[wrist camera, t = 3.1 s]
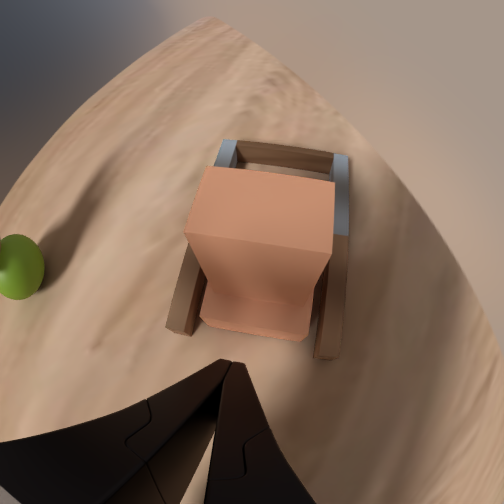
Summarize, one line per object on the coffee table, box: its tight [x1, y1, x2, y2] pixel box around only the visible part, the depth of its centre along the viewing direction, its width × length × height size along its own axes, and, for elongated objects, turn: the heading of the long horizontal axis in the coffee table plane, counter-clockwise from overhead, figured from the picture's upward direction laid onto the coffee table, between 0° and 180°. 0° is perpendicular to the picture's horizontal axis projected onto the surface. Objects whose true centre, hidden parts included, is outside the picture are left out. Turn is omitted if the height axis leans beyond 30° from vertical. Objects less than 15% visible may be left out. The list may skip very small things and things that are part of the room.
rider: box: [184, 166, 335, 342], centre depth 15 cm, size 6×6×10 cm
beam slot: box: [165, 139, 349, 360], centre depth 20 cm, size 16×10×2 cm
